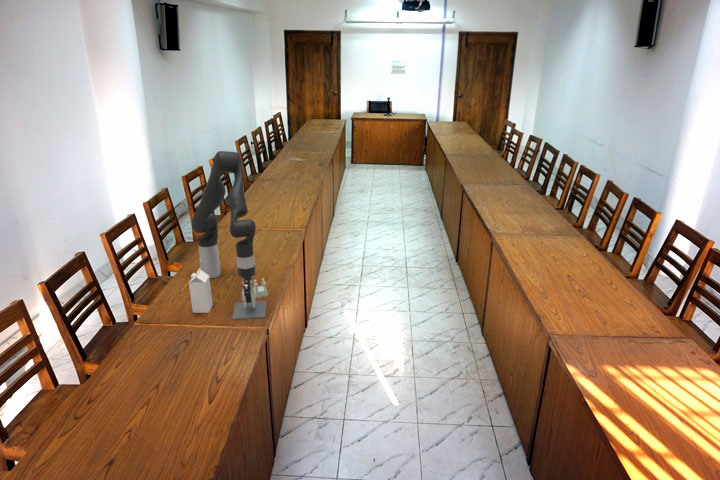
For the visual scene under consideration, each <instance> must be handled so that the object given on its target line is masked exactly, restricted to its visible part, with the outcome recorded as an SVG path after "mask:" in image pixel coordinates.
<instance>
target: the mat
mask: <svg viewBox="0 0 720 480" xmlns="http://www.w3.org/2000/svg"><path fill="white" fill-rule="evenodd" d="M246 306H247V307H246V308H244V302H242V301H241V302H234V308H233V314H232V321H235V320H236V319H240V320H249V319H250V320H252V319H266V316H265V315H266V313H267V300H263V301H262V300H261V301H257V300H256V303H255V307H253V303H252V301H251V303H246ZM236 321H237V320H236Z"/></svg>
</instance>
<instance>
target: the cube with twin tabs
mask: <svg viewBox="0 0 720 480" xmlns="http://www.w3.org/2000/svg"><path fill="white" fill-rule="evenodd" d="M246 293H248V292H246ZM241 299H242V301H243V302H244V308H246V307H247V306H246V296H244V289H243V288H242V291H241ZM256 299H257V298H256V289H255V288H253V287H252V289H251V302H252V303H253V307H255V303H256V302H257V300H256Z"/></svg>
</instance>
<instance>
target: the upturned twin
mask: <svg viewBox="0 0 720 480" xmlns="http://www.w3.org/2000/svg"><path fill="white" fill-rule="evenodd" d="M252 288H255V289H256V297H255V299H258V298H264V297H268V296H269V293H268V289H267V282H266V281H265V278H261V285H260V286H259V284H258V283H257V279H253V286H252Z"/></svg>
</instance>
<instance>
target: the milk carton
mask: <svg viewBox="0 0 720 480" xmlns="http://www.w3.org/2000/svg"><path fill="white" fill-rule="evenodd" d="M190 278H191V279H190V280H189V282H188V286H189V287H188V288H189V294H190V301H191V308H192V313H193V314H209V313H210V312H211V310H212V307H213V297H212V289H211V281H210V279H209V275H208V274H206V273H205V272H203V271H202V270H201V269H200V267H199V268H198V270H197V272H196V273H195V272H193V273H192V274H191V276H190Z"/></svg>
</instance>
